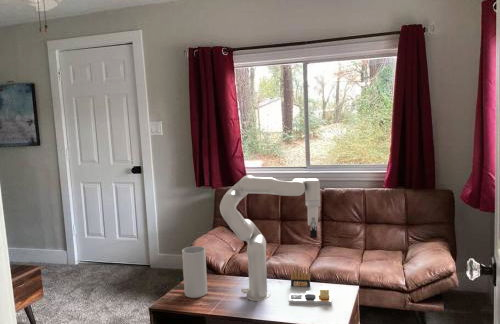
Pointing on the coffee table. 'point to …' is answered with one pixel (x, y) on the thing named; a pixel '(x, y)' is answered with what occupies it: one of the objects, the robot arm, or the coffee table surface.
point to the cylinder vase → (194, 271)
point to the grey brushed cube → (309, 295)
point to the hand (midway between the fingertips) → (313, 235)
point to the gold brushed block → (324, 293)
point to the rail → (302, 300)
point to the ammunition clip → (301, 281)
